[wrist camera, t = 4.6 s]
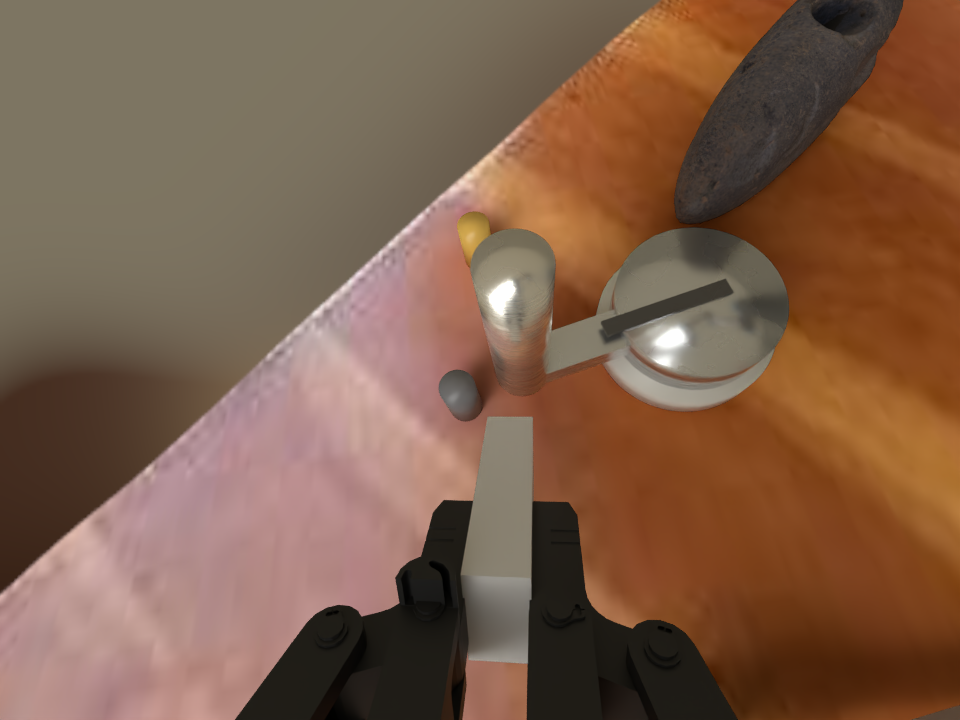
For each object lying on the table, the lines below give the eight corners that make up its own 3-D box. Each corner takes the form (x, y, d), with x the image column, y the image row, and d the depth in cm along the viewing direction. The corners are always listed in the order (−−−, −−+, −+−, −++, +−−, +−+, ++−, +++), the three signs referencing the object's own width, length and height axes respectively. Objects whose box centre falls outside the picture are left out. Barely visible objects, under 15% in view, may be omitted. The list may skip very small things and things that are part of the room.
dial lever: (720, 233, 24) (825, 54, 15) (799, 359, 21) (978, 229, 13) (475, 317, 24) (438, 185, 15) (523, 454, 21) (513, 390, 13)
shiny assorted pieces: (674, 179, 28) (689, 137, 25) (796, 379, 23) (831, 355, 20) (407, 269, 27) (392, 238, 25) (475, 489, 23) (466, 481, 20)
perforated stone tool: (706, 271, 25) (763, 177, 19) (624, 217, 27) (650, 115, 21) (864, 97, 28) (960, -36, 22) (780, 58, 30) (847, -76, 23)
